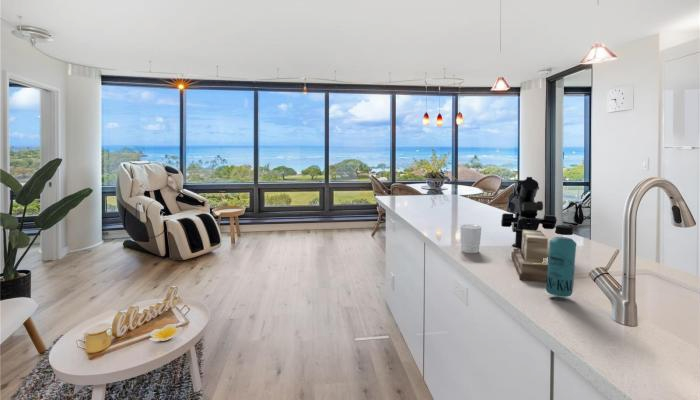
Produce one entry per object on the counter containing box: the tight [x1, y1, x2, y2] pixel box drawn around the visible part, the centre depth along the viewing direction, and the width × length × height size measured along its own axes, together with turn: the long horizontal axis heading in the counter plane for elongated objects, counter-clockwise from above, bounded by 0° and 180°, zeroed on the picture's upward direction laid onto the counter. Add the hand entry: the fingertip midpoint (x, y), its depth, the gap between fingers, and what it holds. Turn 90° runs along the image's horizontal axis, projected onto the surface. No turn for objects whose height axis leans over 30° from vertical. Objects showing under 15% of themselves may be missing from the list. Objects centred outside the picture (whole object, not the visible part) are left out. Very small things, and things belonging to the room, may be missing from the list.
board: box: [510, 248, 549, 283], centre depth 127 cm, size 26×12×5 cm, turn 162°
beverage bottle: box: [545, 224, 577, 298], centre depth 101 cm, size 6×7×20 cm
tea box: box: [520, 230, 549, 263], centre depth 130 cm, size 13×6×9 cm, turn 162°
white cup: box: [459, 224, 482, 254], centre depth 149 cm, size 8×8×10 cm
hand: (529, 239), depth 140 cm, fingers closed
